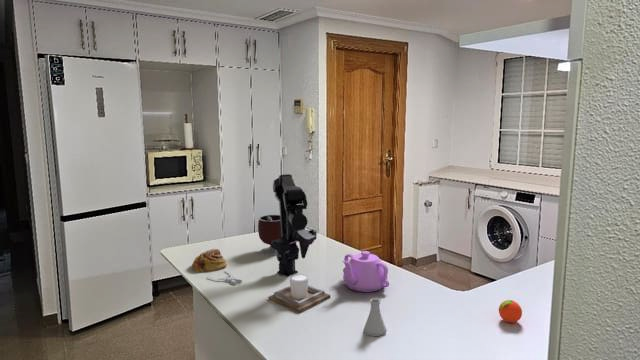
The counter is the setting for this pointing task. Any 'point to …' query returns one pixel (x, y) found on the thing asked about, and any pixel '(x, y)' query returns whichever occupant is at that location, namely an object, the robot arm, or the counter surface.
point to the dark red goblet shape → (269, 232)
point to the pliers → (231, 279)
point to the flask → (375, 320)
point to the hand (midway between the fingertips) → (294, 261)
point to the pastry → (209, 261)
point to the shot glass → (299, 286)
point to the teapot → (365, 272)
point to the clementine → (510, 311)
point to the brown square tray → (299, 305)
